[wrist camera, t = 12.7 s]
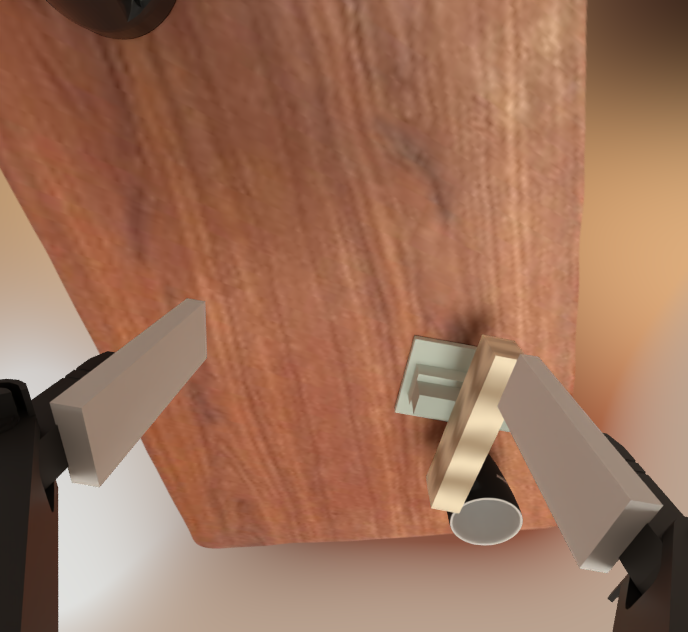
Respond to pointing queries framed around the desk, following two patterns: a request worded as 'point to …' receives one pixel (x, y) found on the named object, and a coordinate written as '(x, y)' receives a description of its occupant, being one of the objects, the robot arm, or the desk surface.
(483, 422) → the birch bar
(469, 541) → the mug
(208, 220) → the desk surface
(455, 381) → the ridge
